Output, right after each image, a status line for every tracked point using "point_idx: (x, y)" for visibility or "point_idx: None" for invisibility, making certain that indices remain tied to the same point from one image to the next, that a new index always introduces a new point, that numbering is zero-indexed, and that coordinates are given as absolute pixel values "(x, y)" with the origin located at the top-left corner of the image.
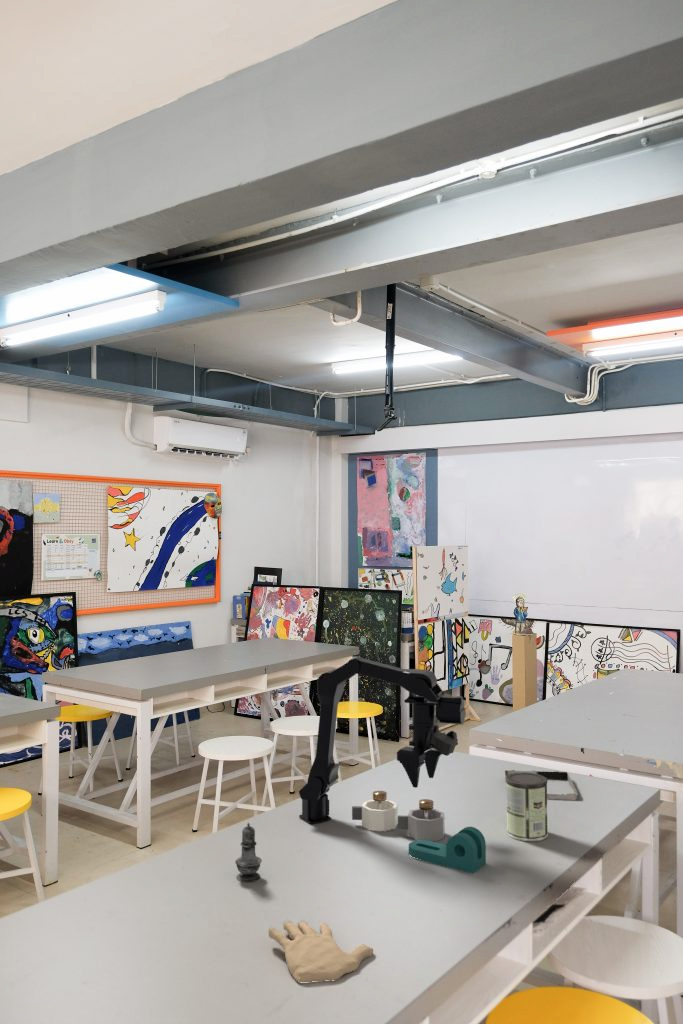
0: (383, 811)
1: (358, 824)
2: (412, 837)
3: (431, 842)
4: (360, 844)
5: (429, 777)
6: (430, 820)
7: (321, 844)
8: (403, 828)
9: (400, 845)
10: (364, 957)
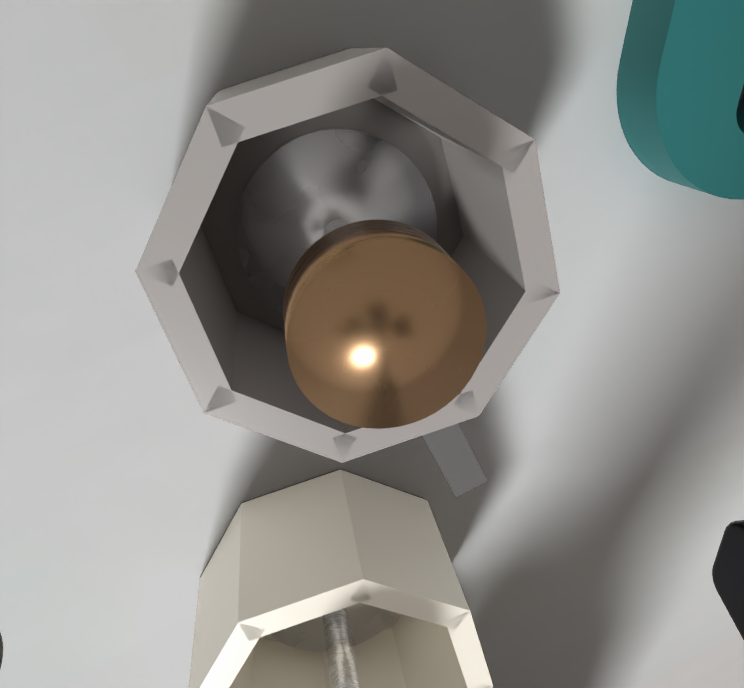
0: (468, 609)
1: None
2: None
3: (687, 28)
4: (676, 496)
5: (1, 646)
6: (527, 153)
7: (732, 631)
8: None
9: (614, 296)
10: None
